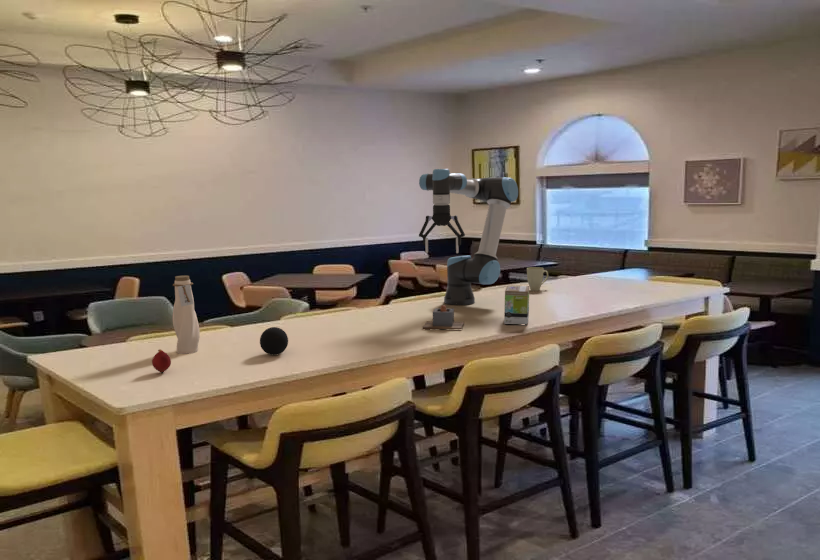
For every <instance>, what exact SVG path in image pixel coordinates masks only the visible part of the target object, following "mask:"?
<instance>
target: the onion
mask: <svg viewBox="0 0 820 560" xmlns="http://www.w3.org/2000/svg"><path fill="white" fill-rule="evenodd" d="M157 351H158V352H156V354H155V355H154V356H153V357H152V360H151V364H152V367H153V368H154V369H155V371H158V372H159V373H161V372H164V371H165V372H166V371H168V369H169V368H170V367H171V364H172V359H171V356H170V355H169V354H168V353H167V352H165V351H164V350H162V349H160V348H159V349H158V350H157ZM165 372H164V373H165Z"/></svg>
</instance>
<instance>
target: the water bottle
mask: <svg viewBox="0 0 820 560" xmlns="http://www.w3.org/2000/svg"><path fill="white" fill-rule="evenodd" d="M174 278H175V279H174V283H172V287H174V296H175V299H174V304H173V308H172V325H173V329H174V333H175V335H176V338H177V342H176V353H177V354H193V353H196V352H198V351H199V342H200V334H201V332H200V326H199V321H198V317H197V313H196V311H195V301H194V295H193V290H192V285H194V283H193V282H191V281H192V280H191V279H190V275H176V276H174Z"/></svg>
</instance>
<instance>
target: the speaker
mask: <svg viewBox="0 0 820 560" xmlns="http://www.w3.org/2000/svg"><path fill="white" fill-rule="evenodd" d="M259 345H260V347H261V349H262V351H263V352H264V353H265V354H267V355H271V356H278V355H280V354H282V353H283V352H285V351H286V349H287V347H288V345H289V337H288V334H287V333H286V331H285V330H283V329H282V328H280V327H278V326H272V327H268V328H267V329H265V330H264V331H263V332H262V333H261V334H260V337H259ZM277 354H278V355H277Z"/></svg>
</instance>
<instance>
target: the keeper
mask: <svg viewBox="0 0 820 560" xmlns="http://www.w3.org/2000/svg"><path fill="white" fill-rule="evenodd" d="M440 308H441V312H446V308H447V306H446V305H445V304H442V305H440ZM464 325H465V321H454V324H453V326H452V327H442V326H433V320H426V321H425V322H424V324H423V326H422V327H421V328H422V329H425V331H426V330H427V331H428V330H429V331H431V330H430V329H462V330H463V328H464ZM462 327H463V328H462Z"/></svg>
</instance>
